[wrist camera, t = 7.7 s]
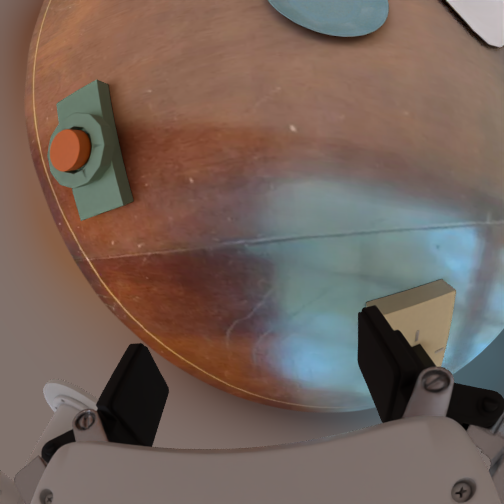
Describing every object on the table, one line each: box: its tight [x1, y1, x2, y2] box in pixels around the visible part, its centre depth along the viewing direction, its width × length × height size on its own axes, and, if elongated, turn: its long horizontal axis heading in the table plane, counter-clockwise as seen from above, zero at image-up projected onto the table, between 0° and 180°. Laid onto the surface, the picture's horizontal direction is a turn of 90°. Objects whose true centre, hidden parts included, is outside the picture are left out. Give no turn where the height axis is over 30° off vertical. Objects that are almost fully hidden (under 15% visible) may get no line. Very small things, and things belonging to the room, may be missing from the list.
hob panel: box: [366, 279, 456, 367], centre depth 26 cm, size 13×10×3 cm
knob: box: [412, 344, 436, 369], centre depth 23 cm, size 5×1×4 cm, turn 15°
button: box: [50, 129, 91, 172], centre depth 17 cm, size 3×3×2 cm
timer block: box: [48, 80, 134, 221], centre depth 19 cm, size 12×6×4 cm, turn 13°
